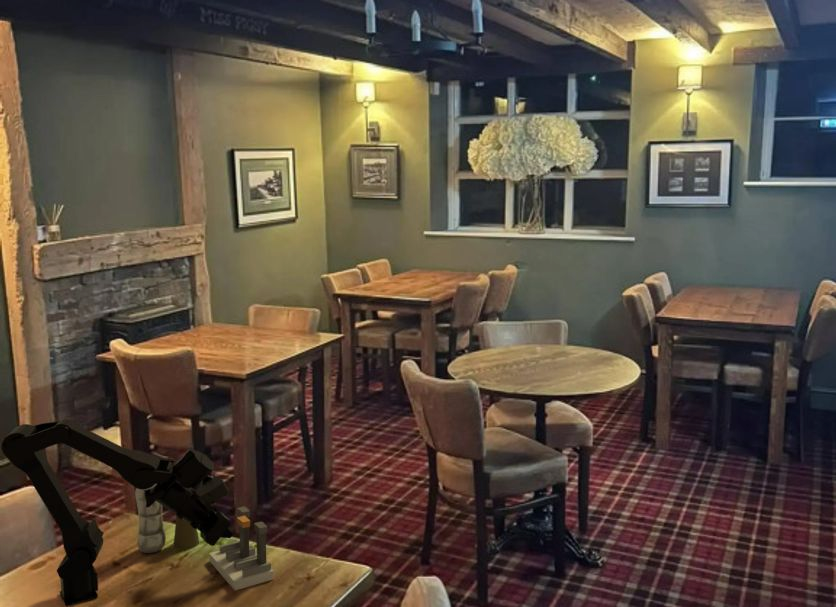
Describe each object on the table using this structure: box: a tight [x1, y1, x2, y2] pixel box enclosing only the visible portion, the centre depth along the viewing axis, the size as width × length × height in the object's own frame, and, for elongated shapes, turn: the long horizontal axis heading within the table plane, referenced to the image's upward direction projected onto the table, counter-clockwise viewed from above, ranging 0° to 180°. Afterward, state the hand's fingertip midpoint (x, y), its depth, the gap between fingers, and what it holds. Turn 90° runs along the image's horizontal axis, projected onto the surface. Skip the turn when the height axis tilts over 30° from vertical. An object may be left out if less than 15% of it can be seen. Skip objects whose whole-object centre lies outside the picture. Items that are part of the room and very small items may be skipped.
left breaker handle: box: [237, 506, 251, 528], centre depth 187 cm, size 2×3×10 cm, turn 34°
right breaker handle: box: [253, 521, 269, 565], centre depth 178 cm, size 2×3×10 cm, turn 34°
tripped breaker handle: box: [236, 516, 251, 559], centre depth 181 cm, size 2×3×10 cm, turn 34°
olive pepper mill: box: [173, 515, 200, 550], centre depth 194 cm, size 6×6×11 cm
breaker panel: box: [208, 540, 275, 591], centre depth 182 cm, size 9×16×4 cm, turn 34°
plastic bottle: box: [134, 484, 167, 554], centre depth 190 cm, size 6×7×20 cm
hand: (231, 535), depth 179 cm, fingers closed
